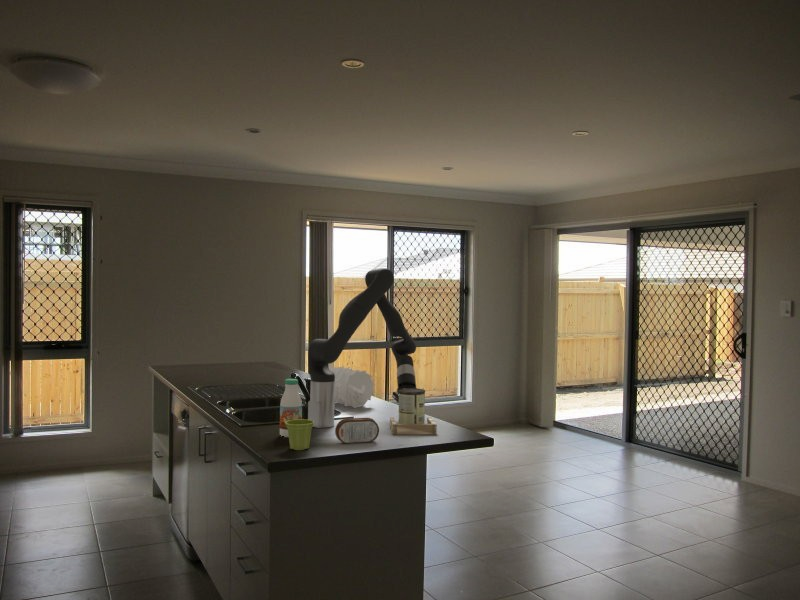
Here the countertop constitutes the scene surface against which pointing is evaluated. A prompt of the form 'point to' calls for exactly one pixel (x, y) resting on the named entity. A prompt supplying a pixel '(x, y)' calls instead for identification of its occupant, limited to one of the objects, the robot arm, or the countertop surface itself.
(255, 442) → the countertop surface
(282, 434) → the milk bottle
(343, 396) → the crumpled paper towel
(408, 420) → the coffee can
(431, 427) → the wooden tray
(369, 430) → the tin
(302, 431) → the plant pot
